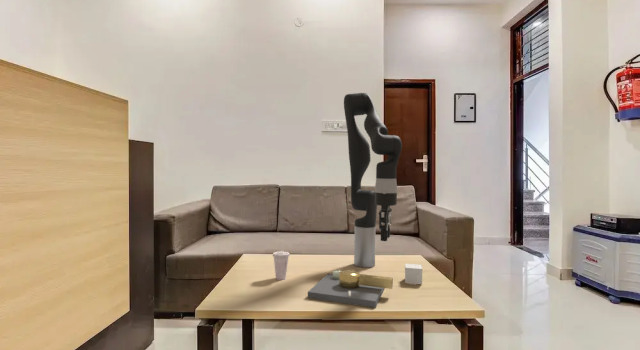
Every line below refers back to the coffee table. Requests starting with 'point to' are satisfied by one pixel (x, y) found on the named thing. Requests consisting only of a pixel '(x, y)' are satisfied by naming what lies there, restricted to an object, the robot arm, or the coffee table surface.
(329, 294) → the grey base plate
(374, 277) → the tan handled round piece
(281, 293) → the coffee table surface
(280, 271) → the smoothie
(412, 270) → the beige cube
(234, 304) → the coffee table surface
